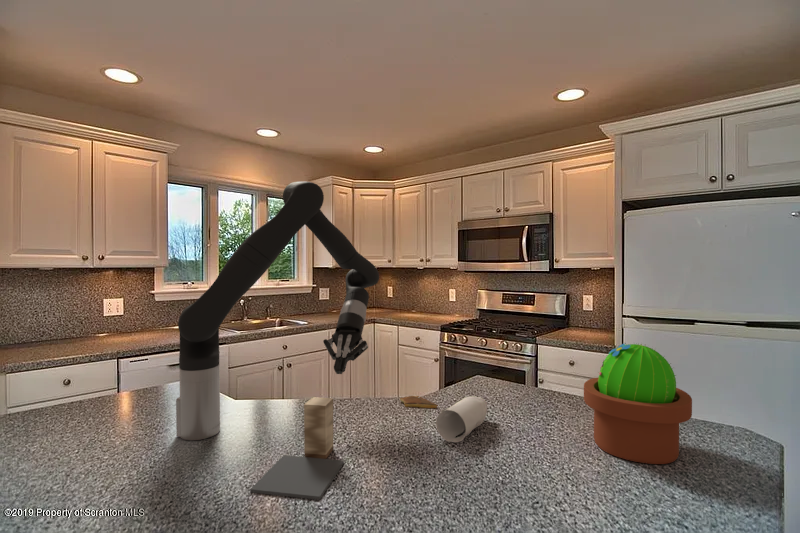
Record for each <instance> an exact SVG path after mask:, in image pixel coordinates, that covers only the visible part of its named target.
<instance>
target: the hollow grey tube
mask: <svg viewBox="0 0 800 533" xmlns="http://www.w3.org/2000/svg"><path fill="white" fill-rule="evenodd" d="M487 414H488V402H487V401H486V400H485V399H484V398H482V397H481V396H478V397H477V396H466V397H464V398H462V399H461V400H459V401H457V402H456V403H454V404H452V405H451V406H449V407H448V408H446V409H443V410H442V411H441V412H439V413H438V416H437V417H436V419H435V424H436V430H437V431H438V434H439V435H440V436H441V438H442V440H445V441H446V442H453V444H454V443H459V442H462V441H463V440H464V439H465V437H467V436H469V435H470V434H471V432H473V430H475V429H476V428H478V427H479V426H481V425H482V424H483V423H484V422H485V420H486V419H485V418H486V416H487ZM463 432H464V433H463ZM462 433H463V434H462ZM461 434H462V435H461ZM458 435H460V436H458ZM456 436H457V437H456Z"/></svg>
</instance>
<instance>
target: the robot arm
mask: <svg viewBox="0 0 800 533" xmlns="http://www.w3.org/2000/svg"><path fill="white" fill-rule="evenodd" d="M324 199H325V195H324V191H323V189H322V188H321V187H320V185H318V184H317V183H314V182H312V181H306V180H305V181H294V182H293V181H292V182H291V183H289V184H287V185H286V186H285V188H284V190H283V192H282V201H283V203H284V205H283V206H282V207H281V209H280V210H279V211H278V212H277V214H276V215H274V216H273V217H272V218H271V219H270V220H268V221H266V222H265V223H264V224H263V225H261V226H260V227H259V228H257V229H255V231H253V232H252V233H251V234H249V236H247V237H246V238H245V240H244V241H243V242H242V243H241V244H240V245H239V246H238V247H237V248H236V250H235V251H234V252H233V253H232V255H231V256H230V257H229V259H228V260H227V261H226V263H225V264H224V266H223V267H222V269H221V271H220V272H219V274H218V275H217V276H216V279H214V281H213V283H212V284H211V285H210V286H209V288H208V289H206V291H205V292H204V293H203V294H201V296H200V297H198V299H196V300H195V302H194V303H192V304H189V305H188V306H186V307H185V308H184V309H182V312H181V314H180V315H179V318H178V320H177V321H178V322H177V327H178V331H179V357H178V359H179V360H178V364H179V366H178V369H179V372H178V374H179V376H178V377H179V396H178V397H177V398H176V400H175V415H176V416H175V417H176V418H175V422H176V424H175V426H176V431H175V432H176V433H175V434H176V437H179V438H181V439H182V440H184V441H199V440H204V439H207V438H208V439H209V438H211V437H214V436H216V435H217V434H218V433H219V432H220V431H221V394H220V393H221V392H220V388H221V387H220V386H221V384H220V380H221V379H220V327H221V326H222V325H221V324H222V323H223V322H224V320H225V319H226V318H227V316H228V314H229V313H230V312H231V310H232V309H233V307H234V306H235V304H237V302H238V301H239V300H240V299H241V298H242V297H243V296H244V295H245V294H246V293H248V292H249V290H250V289H251V288H252V287H253V286H254V285H255V284H256V283H257V281H259V279H260V278H261V277H262V276H263V275H264V274H265V273H266V272H267V271H268V269H269V268H270V267H271V266H272V264H273V263H274V262H275V260H277V258H278V257H279V256H280V254H281V253H283V250H285V248H286V247H287V246H288V245H289V243H291V241H292V240H293V237H295V236H296V234H297V233H298V232H299V231H300V230H301V229H302V228H303V227H304V226H305V227H306V228H308V229H309V230H310V231H311V232H312V233H313V235H314V236H315V238H316V239H318V241H319V242H320V243H321V244H322V246H323V247H324V248H325V249H326V251H327V252H328V254H330V256H331V257H332V258H333V261H335V262H336V264H337V265H338V266H339V267H340V268H341V269H342V270H349V271H348V272H347V273H346V275H345V293H346V294H345V298H344V300H343V305H342V307H341V309H340V312H339V316H338V318H337V319H338V320H337V323H336V327H335V331H334V333H333V334H332V336H331V338H329V339H326V338H325V339H324V340H323V344H324V346H325V349H326V350H327V352H328V354H329V355H330V357H331V359H332V361H333V360H334V361H335V362H334V364H333V371H334V372H335V374H336V375H343V373H345V371H346V368H347V365H348V362H349V361H355V360H356V359H357V358H359V357H360V356H361V355H362V354H363V353H364V352H365V351H367V350H368V348H369V345H368V342H367V341H366V340H363V336H362V335H363V330H364V326H365V322H366V318H367V309H368V304H369V298H370V293H369V292H368V290H367V288H370V287H373V286H375V285H377V284H378V283H379V280H380V273H379V271H378V269H377V267H376V266H375V265H374V264H373V263H372V262H371V261H369V260H368V259H367V258H365V257H364V256H363V255H362V254H360V253H359V252H358V251H357V249H356V248H355V246H354V245H353V243H352V242H351V241H350V240H349V238H347V237H346V236H347V235H345V234H344V233H343V232H342V231H341V230H340V229H339V228H337V227H336V225H335V224H334V223H333V222H331V221H330V220H329V219H328V217H327V216H326V215H325V214H324V213H323V211H322V210H321V208H322V206H323V203H324V201H325V200H324ZM334 345H335V347H336V352H335V351H334V349H333V347H334Z"/></svg>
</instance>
